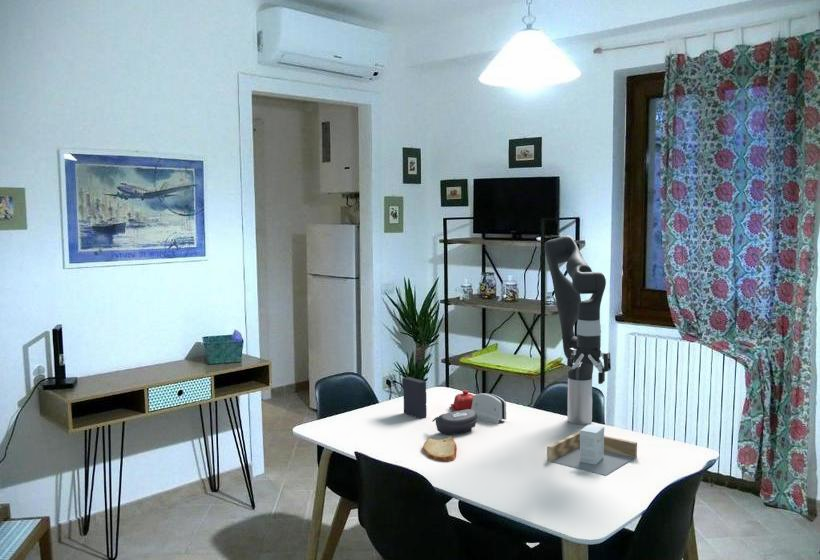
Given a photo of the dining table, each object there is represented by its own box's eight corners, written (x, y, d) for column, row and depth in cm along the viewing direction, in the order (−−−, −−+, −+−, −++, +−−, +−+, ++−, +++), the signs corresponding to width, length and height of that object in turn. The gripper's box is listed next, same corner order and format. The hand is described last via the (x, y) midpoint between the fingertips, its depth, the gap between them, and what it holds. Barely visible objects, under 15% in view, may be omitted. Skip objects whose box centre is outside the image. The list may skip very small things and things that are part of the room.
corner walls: (580, 444, 241) (580, 430, 240) (636, 457, 227) (637, 442, 227) (546, 461, 224) (547, 446, 224) (605, 476, 210) (606, 460, 210)
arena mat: (582, 446, 239) (582, 445, 239) (634, 458, 226) (634, 457, 226) (551, 462, 223) (551, 461, 223) (605, 476, 210) (605, 475, 210)
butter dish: (481, 413, 282) (481, 393, 282) (454, 414, 281) (453, 393, 280) (476, 406, 294) (476, 386, 293) (449, 407, 293) (449, 387, 292)
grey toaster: (468, 415, 279) (470, 390, 279) (476, 414, 282) (478, 390, 282) (497, 424, 266) (500, 398, 266) (506, 423, 269) (508, 397, 269)
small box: (587, 455, 229) (587, 423, 228) (604, 458, 226) (604, 426, 225) (579, 462, 222) (579, 430, 221) (596, 465, 219) (596, 432, 218)
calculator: (427, 417, 275) (427, 381, 274) (419, 419, 273) (419, 382, 272) (410, 412, 284) (410, 376, 283) (402, 414, 281) (402, 377, 280)
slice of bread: (447, 466, 222) (447, 454, 221) (405, 453, 234) (405, 443, 233) (480, 451, 235) (480, 441, 235) (439, 441, 247) (439, 431, 247)
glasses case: (445, 440, 247) (445, 418, 247) (428, 432, 256) (428, 412, 255) (483, 431, 257) (483, 410, 257) (465, 424, 266) (465, 404, 265)
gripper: (563, 332, 226) (563, 380, 228) (604, 336, 217) (604, 387, 219) (574, 329, 232) (574, 376, 234) (614, 333, 223) (614, 382, 225)
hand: (588, 381), depth 226 cm, fingers open, 8 cm apart
